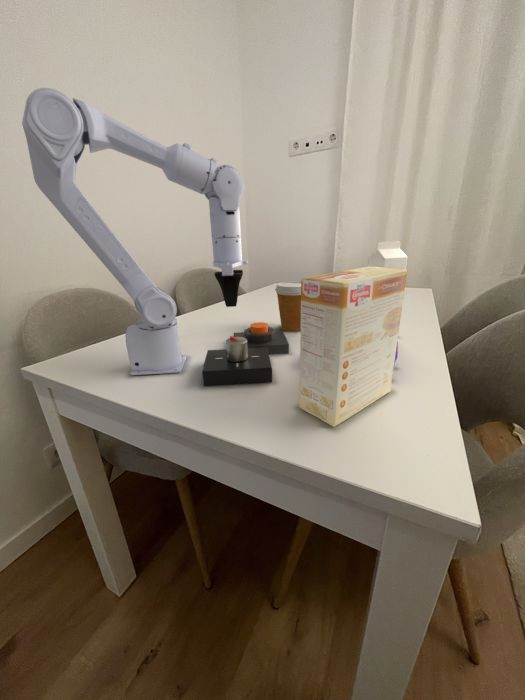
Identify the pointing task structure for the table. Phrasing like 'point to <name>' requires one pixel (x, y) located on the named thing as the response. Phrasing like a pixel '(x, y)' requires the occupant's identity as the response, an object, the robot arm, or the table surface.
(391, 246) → the milk
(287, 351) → the button block
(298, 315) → the disposable coffee cup
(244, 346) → the knob
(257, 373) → the dial panel
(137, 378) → the table surface
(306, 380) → the coffeecake box
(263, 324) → the button
